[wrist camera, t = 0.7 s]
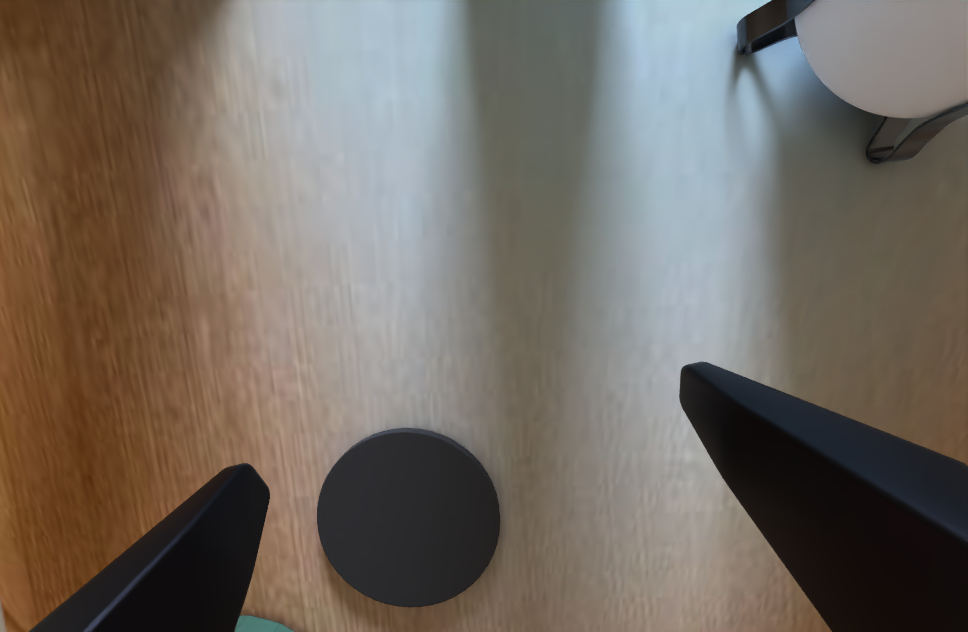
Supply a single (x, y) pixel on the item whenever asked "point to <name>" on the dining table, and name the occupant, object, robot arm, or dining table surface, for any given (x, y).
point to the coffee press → (878, 59)
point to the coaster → (408, 517)
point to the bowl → (259, 625)
